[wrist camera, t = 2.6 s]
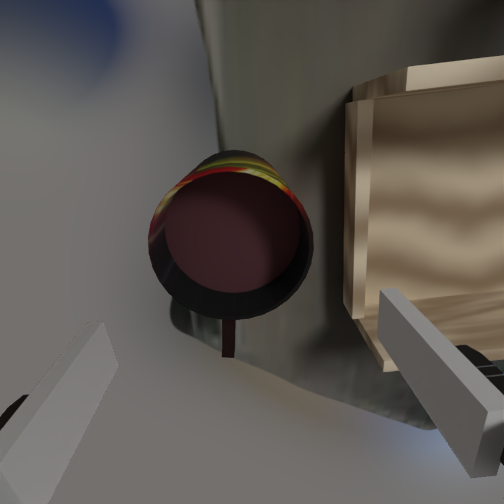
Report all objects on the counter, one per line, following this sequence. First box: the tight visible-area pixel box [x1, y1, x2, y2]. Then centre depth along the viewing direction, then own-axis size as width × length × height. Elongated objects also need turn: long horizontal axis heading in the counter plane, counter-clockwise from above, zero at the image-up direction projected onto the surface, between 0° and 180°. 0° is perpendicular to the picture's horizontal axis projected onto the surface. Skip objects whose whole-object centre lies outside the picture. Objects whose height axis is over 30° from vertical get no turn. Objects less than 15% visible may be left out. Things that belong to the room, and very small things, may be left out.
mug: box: [148, 150, 314, 358], centre depth 24 cm, size 10×14×12 cm
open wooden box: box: [343, 56, 504, 372], centre depth 25 cm, size 22×20×9 cm
